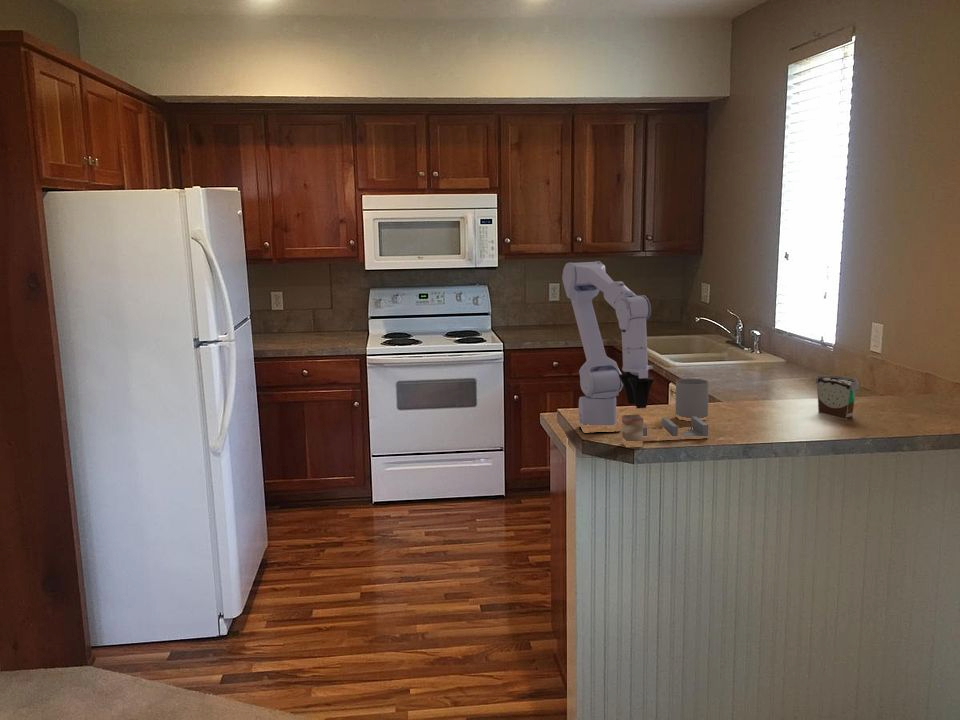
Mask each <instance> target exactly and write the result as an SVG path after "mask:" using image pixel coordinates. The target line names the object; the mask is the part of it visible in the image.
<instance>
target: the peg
mask: <svg viewBox="0 0 960 720" xmlns="http://www.w3.org/2000/svg"><path fill="white" fill-rule="evenodd" d="M643 424H644V417H642V416H641V415H640V414H639V413H638V414H622V415H621V427H622V428H621V429H622V431H621V434H622V436H621V437H623V438H624V439H625V440H626V441H643Z"/></svg>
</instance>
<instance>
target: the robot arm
mask: <svg viewBox="0 0 960 720" xmlns="http://www.w3.org/2000/svg"><path fill="white" fill-rule="evenodd" d="M606 270H607V269H606V266H605V264H603V263H602V261H600V260H595V261H584V262H583V261H582V262H567V263H565V265H564V267H563V270H562V275H561V279H562V284H563V287H564V291H565V294H566V297H567V298H568V299H570V301H571V306H572V309H573V313H574V316H575V321H576V325H577V328H578V332H579V333H578V334H579V336H580V340H581V344H582V347H583V351H584V355H585V359H586V361H585V362H584V363H583V364H582V365H581V367H580V369H579V370H578V373H579V379H580V380H579V383H580V384H579V385H580V389H581V391H582V393H583V394H584V395H585V396H580V397H579V398H578V422H579V421H580V423H582V424H583V425H587V424H589V425H614V424H616V425H617V397H618V396H619V395H620V394H619V393H620V392H621V391H622V389H623V388H624V391H625V395H626V400H627V403H628V404H635V407H636V409H646V408H647V405H648V398H649V393H650V391H651V388H652V385H653V383H654V381H655V379H654V377H649V370H653V369H654V365H648V363H649V361H648V339H647V338H648V337H647V336H648V334H647V320H649V318H650V316H651V313H652V308H651V307H652V306H651V303H650V300H649V298H647V296H646V295H643V294H642V295H637V294H635V293H634V291H632V290H631V289H629V287H627V286H626V285H625V283H624V282H623V281H614V280H613V279H612V278H611V276H609V275H608V273H606V272H607V271H606ZM599 292H602V293H603V299H604V300H605V301H606V302H607V303H608V304H609V305H610V306H611V307H612V308H613V309H614V310H615V315H616V318H617V321H618V327H619V330H621V344H622V345H621V346H622V347H621V348H622V349H621V350H622V367H621V368H622V369H621V371H623V374H622V372H621V371H620V368H619V366H618V363H617V361H615V360H614V359H612V358H610V357H608V356H607V354H606V350H605V347H604V346H605V345H604V342H603V339H602V334H601V331H600V327H599V323H598V320H597V317H596V312H595V309H594V305H593V299H594V298H595V297H597V296H598V295H599Z"/></svg>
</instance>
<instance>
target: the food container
mask: <svg viewBox="0 0 960 720" xmlns="http://www.w3.org/2000/svg"><path fill="white" fill-rule="evenodd" d="M814 383H815V384H816V385H817V387H816V388H817V405H818V406H817V408H818V409H817V410H818V413H819V414H821V413H822V415H825V414H826V415H825V416H829V415H830V416H829V417H833V416H834V417H833V418H836V417H838V419H840V418H842V419H841V420H844V419H845V421H847V420H846V419H849V420H851V419H853V413H854V409H855V408H854V407H855V401H856V400H855V399H856V393H857V391H858V390H860V384H859V381H858V379H857V378H853V377H851V376H844V375H830V374H829V375H824V374H823V375H817V376H816V378H815V382H814Z"/></svg>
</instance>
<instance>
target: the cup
mask: <svg viewBox="0 0 960 720" xmlns="http://www.w3.org/2000/svg"><path fill="white" fill-rule="evenodd" d="M709 385H710V384H709V381H708V380H706V379H702V378H701V379H700V378H682V379H676V380H675V415H676V414H677V415H679V416H681V417H686V418H691V417H693V416H696V417H698V418H704V417H707V416H708V417H709V387H710V386H709Z"/></svg>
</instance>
